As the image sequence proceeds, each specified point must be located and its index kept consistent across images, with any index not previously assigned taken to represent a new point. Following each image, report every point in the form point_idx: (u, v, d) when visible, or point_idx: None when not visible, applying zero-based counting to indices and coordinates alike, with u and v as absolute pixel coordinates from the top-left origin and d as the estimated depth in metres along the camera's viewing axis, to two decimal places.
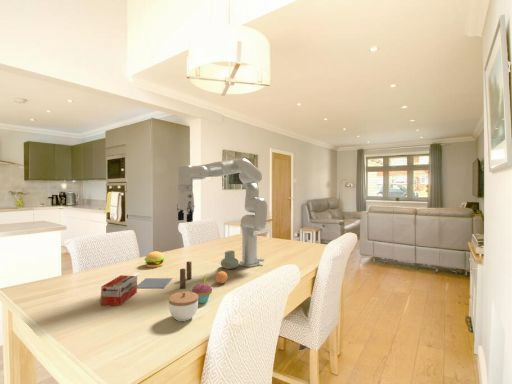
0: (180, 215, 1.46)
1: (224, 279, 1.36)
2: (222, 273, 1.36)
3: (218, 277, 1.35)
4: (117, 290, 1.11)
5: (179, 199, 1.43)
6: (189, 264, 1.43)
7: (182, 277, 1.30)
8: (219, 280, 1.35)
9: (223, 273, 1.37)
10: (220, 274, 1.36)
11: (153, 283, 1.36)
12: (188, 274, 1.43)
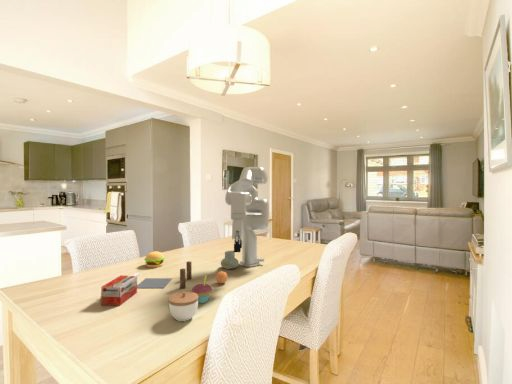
0: None
1: (224, 279, 1.36)
2: (222, 273, 1.36)
3: (218, 277, 1.35)
4: (117, 290, 1.10)
5: (242, 228, 1.36)
6: (189, 264, 1.43)
7: (182, 277, 1.30)
8: (219, 280, 1.35)
9: (223, 273, 1.37)
10: (220, 274, 1.36)
11: (153, 283, 1.36)
12: (188, 274, 1.43)
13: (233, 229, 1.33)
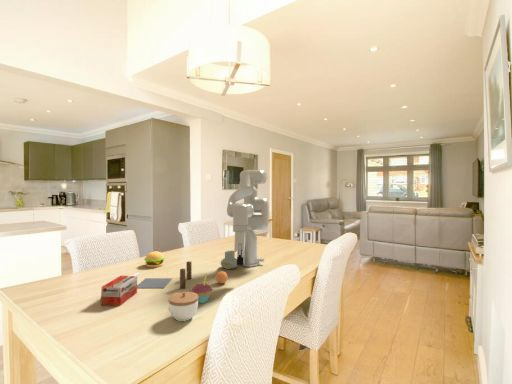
0: None
1: (224, 279, 1.36)
2: (222, 273, 1.36)
3: (218, 277, 1.35)
4: (118, 290, 1.10)
5: None
6: (189, 264, 1.43)
7: (182, 277, 1.30)
8: (219, 280, 1.35)
9: (223, 273, 1.37)
10: (220, 274, 1.36)
11: (153, 283, 1.36)
12: (188, 274, 1.43)
13: (236, 242, 1.33)
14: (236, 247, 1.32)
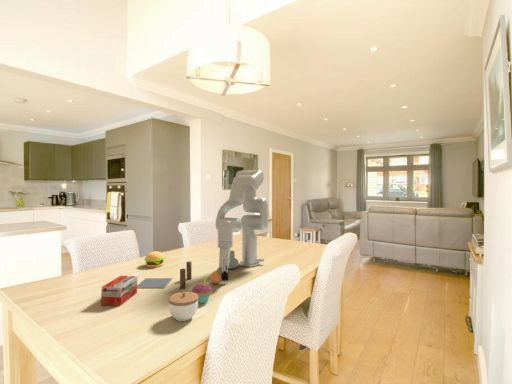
0: None
1: (218, 277, 1.35)
2: (213, 274, 1.36)
3: (212, 279, 1.35)
4: (118, 290, 1.10)
5: (229, 256, 1.36)
6: (189, 264, 1.43)
7: (182, 277, 1.30)
8: (214, 281, 1.35)
9: (214, 273, 1.36)
10: (212, 276, 1.36)
11: (153, 283, 1.36)
12: (188, 274, 1.43)
13: (220, 258, 1.33)
14: (221, 263, 1.32)
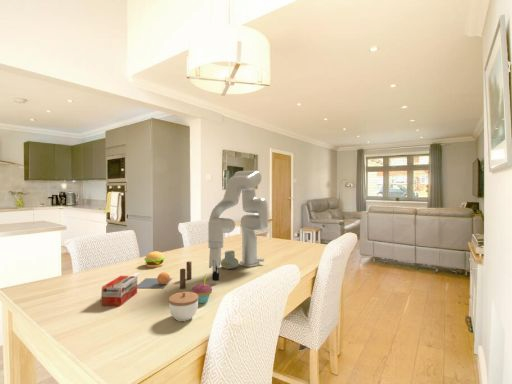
0: None
1: (159, 279, 1.33)
2: (161, 284, 1.34)
3: (165, 281, 1.33)
4: (118, 290, 1.10)
5: (220, 256, 1.36)
6: (189, 264, 1.43)
7: (182, 277, 1.30)
8: (164, 279, 1.33)
9: (160, 283, 1.34)
10: (162, 284, 1.34)
11: (153, 283, 1.36)
12: (188, 274, 1.43)
13: (210, 258, 1.33)
14: (211, 263, 1.33)
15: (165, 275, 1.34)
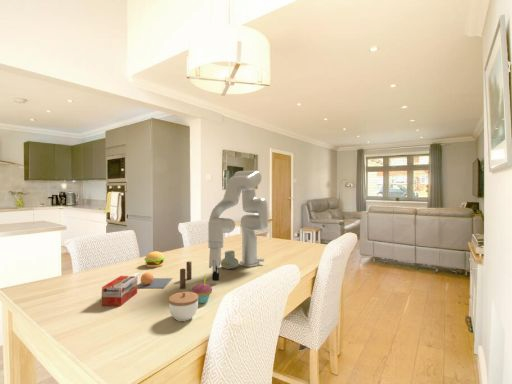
0: None
1: (147, 282, 1.33)
2: (149, 276, 1.34)
3: (143, 277, 1.32)
4: (118, 290, 1.10)
5: (220, 256, 1.36)
6: (189, 264, 1.43)
7: (182, 277, 1.30)
8: (142, 280, 1.32)
9: (150, 276, 1.34)
10: (147, 276, 1.33)
11: (153, 283, 1.36)
12: (188, 274, 1.43)
13: (210, 258, 1.33)
14: (211, 263, 1.33)
15: (141, 282, 1.33)
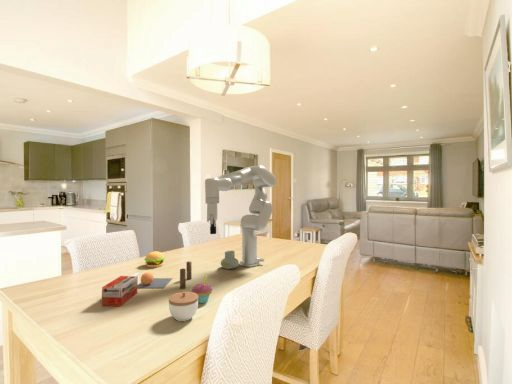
0: None
1: (147, 282, 1.33)
2: (149, 276, 1.34)
3: (143, 277, 1.32)
4: (118, 290, 1.10)
5: (216, 211, 1.48)
6: (189, 264, 1.43)
7: (182, 277, 1.30)
8: (142, 280, 1.32)
9: (150, 276, 1.34)
10: (147, 276, 1.33)
11: (153, 283, 1.36)
12: (188, 274, 1.43)
13: (208, 212, 1.45)
14: (208, 217, 1.45)
15: (141, 282, 1.33)
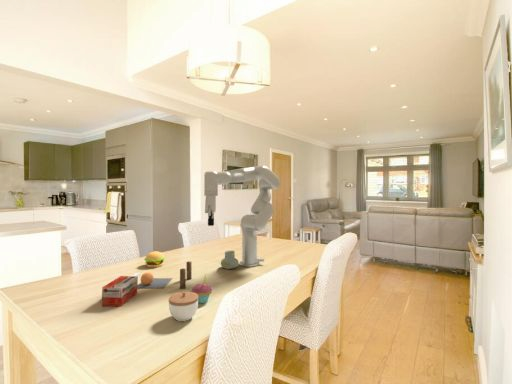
0: None
1: (147, 282, 1.33)
2: (149, 276, 1.34)
3: (143, 277, 1.32)
4: (118, 290, 1.10)
5: (214, 203, 1.53)
6: (189, 264, 1.43)
7: (182, 277, 1.30)
8: (142, 280, 1.32)
9: (150, 276, 1.34)
10: (147, 276, 1.33)
11: (153, 283, 1.36)
12: (188, 274, 1.43)
13: (206, 204, 1.50)
14: (206, 209, 1.49)
15: (141, 282, 1.33)
